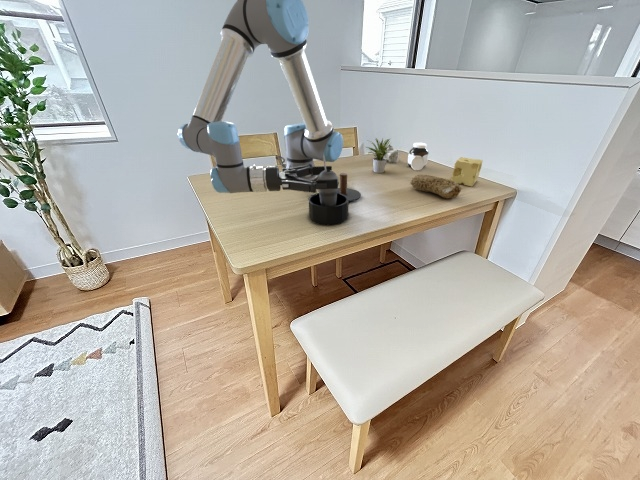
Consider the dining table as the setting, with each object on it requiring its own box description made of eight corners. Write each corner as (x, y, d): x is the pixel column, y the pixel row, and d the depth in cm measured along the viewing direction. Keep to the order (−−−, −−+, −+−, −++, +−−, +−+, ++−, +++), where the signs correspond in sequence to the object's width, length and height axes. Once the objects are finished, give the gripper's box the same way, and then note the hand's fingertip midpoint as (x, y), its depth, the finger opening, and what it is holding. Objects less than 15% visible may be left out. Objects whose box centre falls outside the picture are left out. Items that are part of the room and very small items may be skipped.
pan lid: (324, 190, 117) (323, 169, 112) (357, 189, 119) (357, 168, 114) (327, 204, 105) (327, 180, 100) (364, 202, 108) (365, 179, 102)
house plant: (374, 165, 151) (377, 132, 141) (397, 170, 144) (401, 136, 135) (360, 171, 141) (361, 136, 132) (383, 176, 135) (387, 140, 125)
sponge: (460, 199, 116) (428, 176, 127) (466, 183, 110) (431, 161, 121) (437, 210, 112) (405, 186, 123) (441, 194, 106) (408, 170, 117)
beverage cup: (336, 221, 93) (336, 159, 81) (315, 218, 94) (312, 157, 82) (341, 212, 99) (341, 153, 87) (321, 210, 100) (319, 152, 88)
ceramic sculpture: (391, 148, 146) (373, 144, 157) (389, 164, 151) (372, 160, 161) (405, 146, 152) (387, 142, 162) (403, 162, 156) (386, 158, 167)
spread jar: (420, 164, 155) (423, 141, 148) (432, 169, 146) (437, 146, 140) (401, 165, 151) (404, 143, 144) (413, 171, 142) (417, 148, 136)
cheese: (472, 187, 126) (479, 164, 120) (449, 182, 130) (454, 160, 124) (477, 181, 133) (483, 159, 127) (454, 176, 138) (460, 155, 132)
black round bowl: (308, 209, 101) (307, 192, 97) (344, 207, 103) (344, 191, 99) (310, 226, 90) (309, 208, 86) (351, 224, 92) (351, 206, 89)
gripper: (261, 180, 73) (340, 177, 77) (267, 155, 93) (329, 154, 97) (265, 206, 78) (340, 202, 81) (270, 177, 98) (329, 176, 101)
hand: (334, 176), depth 89 cm, fingers open, 13 cm apart
